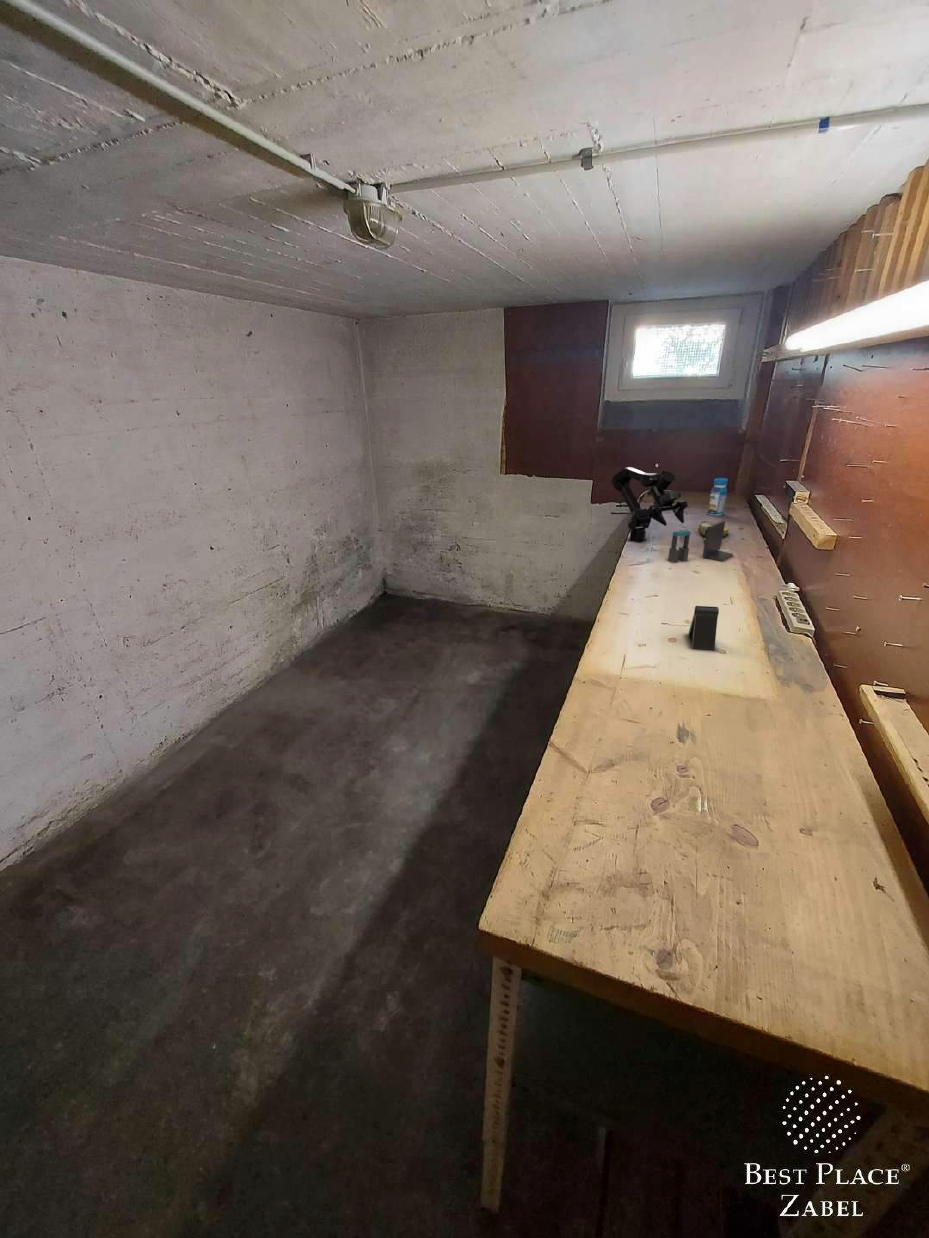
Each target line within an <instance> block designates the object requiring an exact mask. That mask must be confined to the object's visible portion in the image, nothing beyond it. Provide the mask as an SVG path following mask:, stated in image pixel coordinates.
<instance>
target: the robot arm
mask: <svg viewBox="0 0 929 1238" xmlns="http://www.w3.org/2000/svg"><path fill="white" fill-rule="evenodd" d="M632 480H635V481H638V482H639V483H640V485H641V486H643V488H650V489H648V492H647V496H651V497H652V499H653V504H650V506H648V507H647V508H642V507H641V505H640V503H639V502H638V500H637V497H636V496H635V494H634V493H633V490H632V489H631V487H630V485H631V481H632ZM675 480H676V476H675V474H673V473H672V472H669V471H668V470H667V469H666V470H662V471H661V473H660V474H659V473H655V472H651V473H650V472H644V471H642V470H639V469H637V468H635V467H633V466H627V467H624V468H623V469H622V470H620V471H619V472H617V473H615V475H613V476H612V478H611V481H610V482H611V485H612V487H613V488H614V489H615V490H616V491H617V492H619V493H620V495H621V496H622V498H623V500H624V503H626V505H627V508H628V510H629V511H630V514H631V516H630V521H629V522H628V523H627V528H628V529H630V533H629V538H628V541H630V542H636V543H642V542H644V541H645V540H647V538H646V536H647V531H646V529H649V527H650V525H651V522H652V520H654V521H656V522H658V523H660V524H661V525H663V526H664V527H666V526H667V524H668V523H667V521H666V519H665V517H664V515H663V512H671V511H672V512H673V513H674V514H673V515H674V517H675V518H676V519H677V520H678V521H679V522H680V523H681V524H684V523H685V516H684V515H685V514H684V512H685V510H686V508H687V507H688V505H689V504H688V502H687V500H681V501H677V502H675V501H676V500H679V499H680V498H682V492H681V490H679V489H677V490H675V491H670V492H668V493H667V492H666V491H667V490H668V489H669V488H670V486H671V485H672V484H673V483H674V481H675ZM665 490H666V491H665Z"/></svg>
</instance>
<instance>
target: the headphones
mask: <svg viewBox="0 0 929 1238" xmlns="http://www.w3.org/2000/svg"><path fill="white" fill-rule="evenodd" d="M691 532H692V531H690V530H687V529H686V530H678V531H673V532H672V539H671V545H670V547H669V550H668V557H667V560H668V561H669V562H671V563H678V561H681V562H687V561H688V560H689V553H690V548H689V543H690V536H691V534H692V533H691ZM678 537H684V538H683V544H682V546H679V547H678V548H677V544H678Z"/></svg>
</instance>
